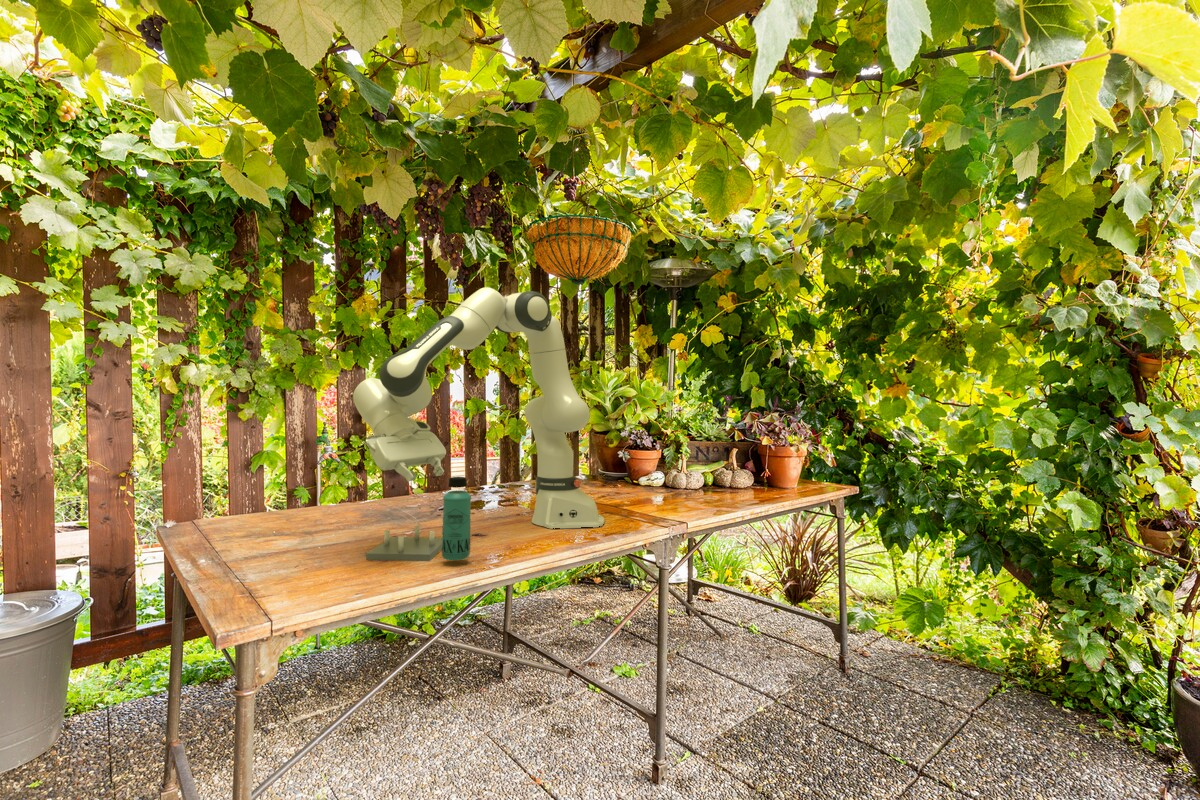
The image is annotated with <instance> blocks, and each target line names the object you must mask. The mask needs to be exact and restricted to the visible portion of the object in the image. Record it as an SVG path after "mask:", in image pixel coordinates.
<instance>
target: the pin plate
mask: <svg viewBox="0 0 1200 800" xmlns="http://www.w3.org/2000/svg"><path fill="white" fill-rule="evenodd" d="M420 527H421V526H420V525H419V524H417V525H416V524H415V525H414V537H413V536H402V535H401V536H391V534H390V529H389V530H387V529H386V530H384V531H383V532H384V536H383V537H384V540H383V542H381V543H380V544H378V545H376V546H375V547H373V548H372V549H371V550H370V551H367V552H366V553H365V559H366V561H409V562H411V561H412V562H413V561H415V562H416V561H417V562H430V561H432V559H433V558H434V557H436V556H437V555H438V554H439V553H440V552H442V541H443V537H435V530H430V531H429V533H428V534H429V536H428V537H421V536H420V531H421V530H420ZM439 551H440V552H439ZM438 552H439V553H438ZM437 553H438V554H437ZM436 554H437V555H436Z"/></svg>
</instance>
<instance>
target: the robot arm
mask: <svg viewBox="0 0 1200 800" xmlns="http://www.w3.org/2000/svg"><path fill="white" fill-rule="evenodd" d="M494 329H495V330H496V331H498V332H500V333H505V334H512V333H523V334H524V335H525V337H526V340H527V343H528V353H529V361H530V367H531V375H532V378H533V380H534V382H535V384H537V385H538V386H539V388H540V389H541V392H542V395H540V396H537V397H534V398H533V399H531V400H529V401H528V403H527V404H526V405H525V408H524V417H525V420H526V422H527V423H528V425H529V426H530V428H531V430H532V433H533V437H534V440H535V446H536V452H537V457H536V458H537V475H536V476H535V486H534V487H535V489H534V490H535V494H536V498H535V506H534V511H533V515H532V519H531V523H532V524H534V525H536V526H541V527H545V528H547V529H551V530H555V528H560V529H582V528H581V527H593V528H600V527H602V526H604V525H605V517H604V516H603V515H601V514H599V513H598V507H597V503H596V501H595V500H594V499H593V498H592V497H591V496H590V495H588V494H587V493H586V492H585V491H583V490H582V489H581V488H580V486H581V480H580V478H579V477H577V476H575V475H574V450H573V447H571V445H570V444H569V443H568V440H567V437H566V433H573V432H577V431H582V429H584V428H585V427H586V426H587V425H588V423H589V422H590V421H589V420H590V412H591V411H590V408H589V406H588V404H587V402H586V401H585V400H583V398H582V397H581V396H580V395H579V393H578V392H577V389H576V387H575V385H574V384H573V380H572V378H571V373H570V370H569V365H568V359H567V351H566V345H565V339H564V335H563V331H562V328H561V324H560V322H559V320H558V319H557V317H555V316H553V314H552V311H551V307H550V304H549V302H548V300H547V298H546V297H545V296H544V295H543V294H542V293H541V292H538V291H533V290H526V291H523V292H516V293H512V294H510V295H507V296H503V295H502V294H501V293H500V292H499V291H497V290H496V289H494V288H493V287H490V286H489V287H488V286H486V287H482V288H479V289H478V290H475V292H473V293H472V294H471V295H470V296H469V297H467V298H466V299H465V300H464V301H463V302H462V303H461V304H460V305H459V306H458V307H457V308H456V309H455V310H454V311H453V312H452V313H451V314H449V315H448V316H445V317H443V318H441V319H439V320H438V321H436V322H435V323H434V324H433V325H432V326H431V327H429V329H427V330H426V331H425V332H424V333H422V334H421V336H419V337H418V338H417V339H416V340H415V341H414V342H412V343H411V344H410V345H409V346H407V347H406V348H405V349H403V350H401V351H399V352H397V353H394V354H393V355H391V356H389V357H388V358H387V359H386V360H385V361H384V362H382V365H381V367H380V369H379V376H378V377H379V378H375V377H369V378H366V379H363V381H361V382H359V384H358V385H357V386H356V388H355V389H354V391H353V394H352V399H353V403H354V405H355V408H356V410H357V412H358V413H359V415H360V416H361V418H362V420H364V422H365V423H366V424H367V425H368V426H369V427H370V428H371V431H372V433H373V434H372V435H368V436H367V437H366V439H365V444H366V446H367V447H368V449H369V452H370V453H369V454H370V456H371V457H372V460H373V461H374V463H375V464H376V466H377V468H378V469H380V470H381V471H391V470H395V472H396V473H398V474H399V475H401V476H402V477H404V478H405V480H406V481H407V482H412V481H415V480H416V478H417V474H416V472H415V471H414V470H410V469H409V468H410V467H416V466H422V465H429V464H430V466H431V467H433V468H434V469H433V471H432V472H433V475H435V476H436V477H439V476H443V474H444V473H445V470H444V468H443V467H442V462H441V461H442V460H443V459H444V458H445V456H447V450H446V447H445V446H444V445H443V443H442V442H441V439H439V437H437V435H436V434H435V433H433V432H432V431H430V430H431V426H430V425H429V424H428V423H426V422H422V421H419V420H415V419H414V418H411V416H413V415H415V414H418V413H420V412H421V411H423V410H424V409H426V408H427V407H428V406H429V405H430V404H431V402H432V399H433V390H432V387H431V385H430V382H429V380H428V379H427V376H426V373H427V369H428V366H429V365H430V363H432V362H433V361H434V360H435V359H436V358H437V357H438V356H439V355H440V354H442V352H444V351H445V349H447V348H449V347H450V346H454V347H456V348H458V349H460V350H465V351H466V350H467V351H468V350H474V349H477V347H479V346H480V345H481V344H482V343H483V342H484V341H485V340H486V339H487V338H488V337H489V335H490V334H491V333H492V332H493V331H494ZM603 524H604V525H603ZM599 526H600V527H599ZM553 528H554V529H553Z"/></svg>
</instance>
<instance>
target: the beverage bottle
mask: <svg viewBox="0 0 1200 800" xmlns="http://www.w3.org/2000/svg"><path fill="white" fill-rule="evenodd" d="M467 486H468V483H467V477H465V476H452V477H449V478H448V488H465V487H467ZM471 500H472V496H471V495H470V493H469V492H468V491H466V490H450V491H448V492H446V493H445V494H444V495H443V510H442V511H443V512H442V513H443V514H442V515H443V516H442V526H441V528H442V530H441V532H442V533H441V535H442V538H443V541H442V550H441V555H442V559H444V560H447V561H460V560H461V561H462V560H465V559H468V558H469V557H470V554H471V546H472V545H471V543H472V542H471V541H472V540H471V531H472V527H471V511H472V509H471V505H472V504H471V502H472V501H471Z"/></svg>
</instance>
